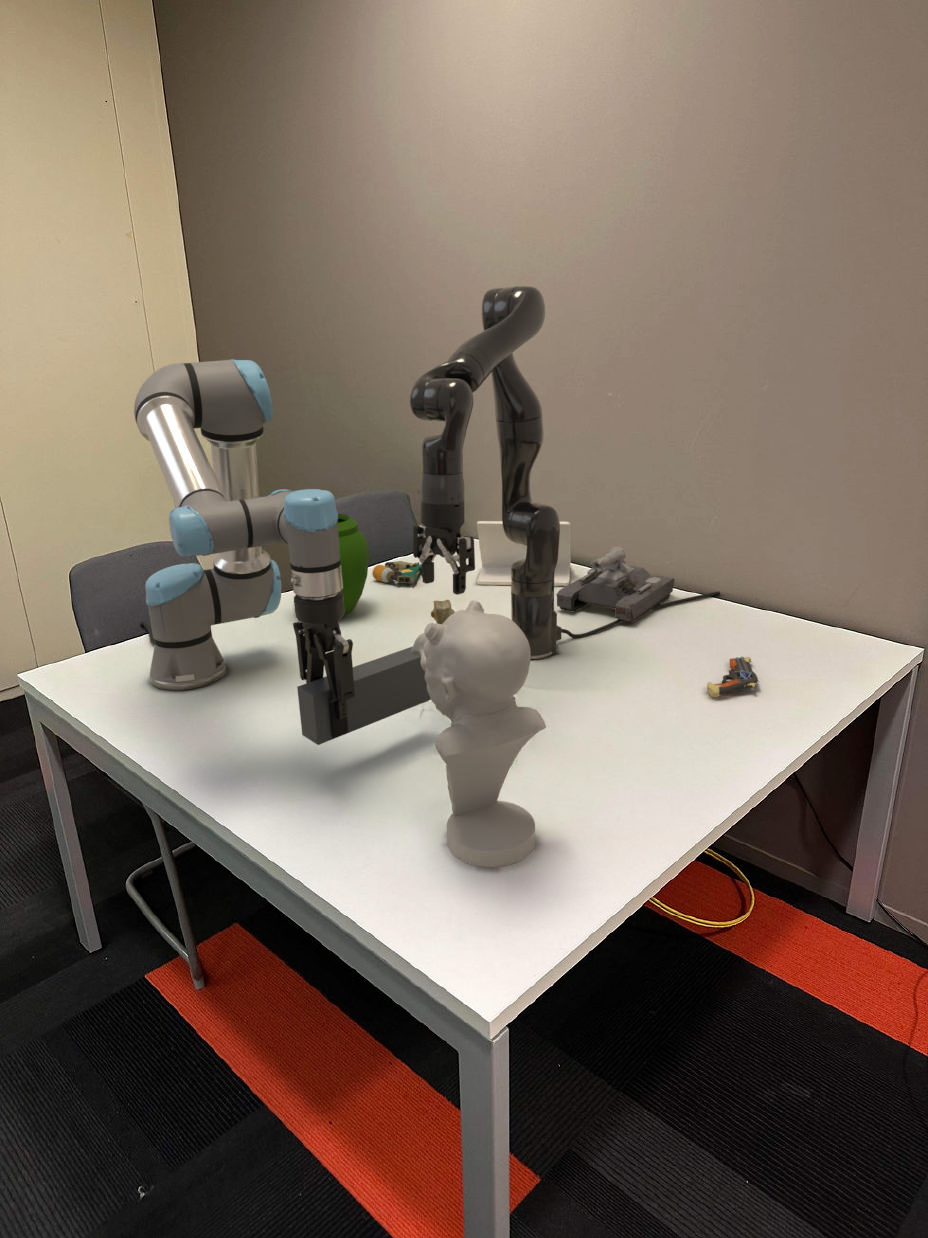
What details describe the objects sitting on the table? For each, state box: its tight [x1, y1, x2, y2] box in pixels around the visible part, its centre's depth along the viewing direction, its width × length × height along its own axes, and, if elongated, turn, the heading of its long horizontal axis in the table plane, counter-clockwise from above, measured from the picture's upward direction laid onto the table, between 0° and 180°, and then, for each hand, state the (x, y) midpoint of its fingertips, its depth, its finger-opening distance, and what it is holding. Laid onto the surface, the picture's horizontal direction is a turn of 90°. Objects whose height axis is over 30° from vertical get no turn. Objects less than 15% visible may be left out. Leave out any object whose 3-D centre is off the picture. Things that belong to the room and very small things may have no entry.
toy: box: [556, 546, 676, 624], centre depth 212 cm, size 25×20×15 cm
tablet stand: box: [476, 520, 572, 587], centre depth 236 cm, size 18×25×17 cm
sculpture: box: [430, 599, 456, 624], centre depth 177 cm, size 6×7×15 cm
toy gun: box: [706, 656, 760, 698], centre depth 171 cm, size 3×19×10 cm
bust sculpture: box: [411, 599, 547, 868], centre depth 121 cm, size 16×24×35 cm
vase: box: [288, 513, 370, 618], centre depth 209 cm, size 20×20×24 cm
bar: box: [296, 645, 431, 746], centre depth 142 cm, size 24×5×9 cm, turn 131°
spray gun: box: [371, 560, 422, 585], centre depth 240 cm, size 4×17×15 cm
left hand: (330, 728), depth 138 cm, fingers closed on bar, 5 cm apart
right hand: (443, 587), depth 152 cm, fingers open, 8 cm apart
